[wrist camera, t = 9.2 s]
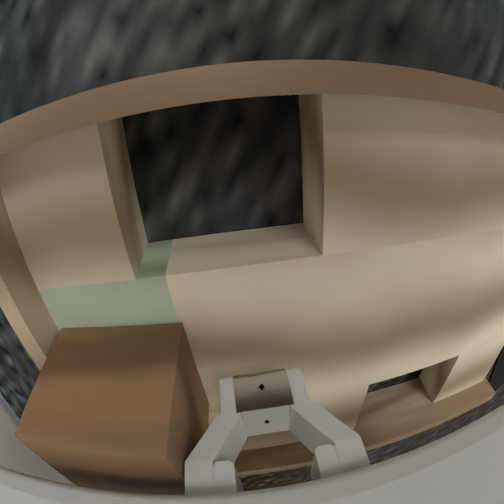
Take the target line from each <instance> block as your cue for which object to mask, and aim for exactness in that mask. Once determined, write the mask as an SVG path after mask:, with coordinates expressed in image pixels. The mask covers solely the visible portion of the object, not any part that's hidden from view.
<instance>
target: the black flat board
mask: <svg viewBox="0 0 504 504" xmlns="http://www.w3.org/2000/svg"><path fill="white" fill-rule="evenodd" d="M488 382H489V384H490V385H491V387H492V388H493V390H494V391H495V390H496V389H498V388H499V387H500V386H502V385H503V384H504V346H503V348H502V349H501V351H500V353H499V355H498V356H497V359H496V362H495V365H494V368H493V371H492V373H491V376H490V379H489V381H488Z"/></svg>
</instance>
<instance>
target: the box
mask: <svg viewBox="0 0 504 504" xmlns="http://www.w3.org/2000/svg"><path fill="white" fill-rule="evenodd" d="M277 95H299V112H300V131H301V154H302V185H303V223H299V224H290V225H282V226H273V227H265V228H257V229H248V230H240V231H232V232H225V233H217V234H209V235H201V236H194V237H186V238H179V239H172V240H164V241H157V242H150V243H148V240H147V236H146V232H145V228H144V224H143V219H142V215H141V211H140V206H139V202H138V198H137V193H136V188H135V184H134V179H133V174H132V169H131V164H130V159H129V153H128V148H127V142H126V137H125V131H124V125H123V118H122V117H125V116H129V115H134V114H139V113H144V112H149V111H154V110H159V109H164V108H170V107H176V106H182V105H189V104H196V103H203V102H210V101H218V100H227V99H237V98H248V97H261V96H277ZM0 307H1V309H2V311H3V312H4V314H5V316H6V318H7V320H8V321H9V323H10V325H11V326H12V328H13V330H14V331H15V333H16V335H17V336H18V338H19V340H20V341H21V343H22V344H23V346H24V348H25V349H26V351H27V352H28V354H29V355H30V357H31V358H32V360H33V361H34V363H35V364H36V365H37V367H38V368H39V370H40V371H41V369H42V367H43V365H44V363H45V361H46V359H47V356H48V354H49V352H50V350H51V348H52V346H53V344H54V342H55V340H56V338H57V336H58V334H59V332H60V330H61V328H83V327H113V326H135V325H152V324H168V323H182V322H183V326H184V329H185V332H186V336H187V339H188V342H189V345H190V348H191V351H192V354H193V358H194V361H195V364H196V367H197V370H198V373H199V376H200V378H201V381H202V384H203V387H204V390H205V393H206V396H207V398H208V401H209V426H210V424H211V423H212V421H213V420H214V418H215V417H216V415H220V399H219V377H226V376H236V375H245V374H254V373H258V372H264V371H270V370H276V369H282V368H284V369H285V368H289V367H295V366H299V367H300V369H301V373H302V376H303V380H304V383H305V386H306V390H307V393H308V397H309V400H310V401H315V402H316V403H317V404H319V405H320V406H321V407H323V408H324V409H325V410H327V411H328V412H329V413H331V414H332V415H333V416H335V417H336V418H337V419H339V420H340V421H341V422H343V423H344V424H345V425H347V426H348V427H349V428H351V429H352V430H353V431H355V432H356V433H358V434H359V435H360V437H361V439H362V442H363V445H364V448H365V451H369V450H372V449H375V448H378V447H381V446H384V445H387V444H390V443H393V442H396V441H399V440H402V439H404V438H407V437H410V436H412V435H415V434H417V433H420V432H422V431H425V430H427V429H430V428H432V427H434V426H437V425H439V424H441V423H444V422H446V421H448V420H450V419H452V418H455V417H457V416H459V415H461V414H463V413H465V412H467V411H469V410H471V409H473V408H475V407H477V406H479V405H480V404H482V403H484V402H486V401H488V400H490V399H491V398H492V397H493V395H494V394H495V391H494V390H493V388H492V387H491V385H490V384H489V382H488V381H487V379H486V378H485V377H486V375H487V373H488V372H489V370H490V368H491V367H492V365H493V363H494V362H495V360H496V358H497V356H498V355H499V353H500V351H501V349H502V348H503V346H504V89H502V88H499V87H495V86H492V85H488V84H485V83H481V82H477V81H474V80H470V79H466V78H461V77H457V76H453V75H448V74H443V73H438V72H433V71H428V70H422V69H416V68H410V67H403V66H395V65H387V64H378V63H368V62H356V61H340V60H264V61H247V62H235V63H224V64H215V65H207V66H199V67H192V68H186V69H179V70H173V71H168V72H162V73H157V74H152V75H147V76H142V77H138V78H133V79H129V80H125V81H121V82H117V83H113V84H109V85H105V86H102V87H98V88H95V89H91V90H88V91H84V92H81V93H78V94H75V95H72V96H69V97H66V98H63V99H60V100H57V101H54V102H51V103H49V104H46V105H43V106H41V107H38V108H35V109H33V110H30V111H28V112H25V113H23V114H21V115H18V116H16V117H14V118H11V119H9V120H7V121H5V122H2V123H0ZM420 369H422V371H421V373H420V376H419V377H418V378H415V379H412V380H409V381H406V382H403V383H400V384H397V385H393V386H390V387H387V388H383V389H380V390H376V391H373V392H369V393H367V390H368V387H369V385H370V384H374V383H377V382H381V381H384V380H388V379H391V378H395V377H398V376H401V375H404V374H407V373H411V372H414V371H417V370H420ZM313 456H314V454H313V453H312V452H311V451H310V450H309V449H308V448H307V447H306V446H305V445H304V444H303V443H302V442H301V441H300V440H299V439H298V438H297V437H295V436H294V435H293V434H292V433H291V432H290V430H286V431H279V432H272V433H265V434H259V435H253V436H247V439H246V441H245V443H244V445H243V447H242V449H241V451H240V453H239V455H238V457H237V459H236V460H235V462H234V465H235V468H236V470H237V473H238V475H239V476H247V475H255V474H263V473H270V472H277V471H283V470H289V469H294V468H300V467H305V466H310V465H312V461H313Z"/></svg>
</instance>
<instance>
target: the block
mask: <svg viewBox="0 0 504 504" xmlns="http://www.w3.org/2000/svg"><path fill="white" fill-rule="evenodd" d="M208 427H209V401H208V398H207V396H206V393H205V390H204V387H203V384H202V381H201V378H200V376H199V373H198V370H197V367H196V364H195V361H194V358H193V354H192V351H191V348H190V345H189V342H188V339H187V336H186V332H185V329H184V326H183V322H182V323H168V324H152V325H135V326H113V327H83V328H61V330H60V332H59V334H58V336H57V338H56V340H55V342H54V344H53V346H52V348H51V350H50V352H49V354H48V356H47V359H46V361H45V363H44V365H43V367H42V369H41V371H40V374H39V376H38V378H37V380H36V383H35V385H34V387H33V390H32V392H31V394H30V397H29V399H28V402H27V404H26V406H25V409H24V412H23V414H22V417H21V419H20V422H19V425H18V427H17V430H16V433H15V436H16V437H17V438H18V439H20V440H21V441H22V442H23V443H24V444H25V445H26V446H27V447H29V448H30V449H31V450H32V451H33V452H34V453H36V454H37V455H38V456H39V457H40V458H42V459H43V460H44V461H46V462H47V463H48V464H49V465H50V466H52V467H53V468H54V469H55V470H57V471H58V472H59V473H61V474H62V475H64V476H65V477H66V478H68V479H69V480H70V481H72V482H73V483H75V484H76V485H78V486H81V487H87V488H94V489H101V490H109V491H118V492H128V493H141V494H163V495H185V461H186V459H187V458H188V457H189V455H190V454H191V452H192V451H193V449H194V448H195V446H196V445H197V444H198V442H199V441H200V439H201V438H202V436H203V435H204V433H205V432H206V430H207V429H208Z"/></svg>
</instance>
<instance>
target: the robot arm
mask: <svg viewBox="0 0 504 504" xmlns="http://www.w3.org/2000/svg"><path fill="white" fill-rule="evenodd" d="M219 399H220V415H216V417H215V418H214V420H213V421H212V423H211V424H210V426H209V427H208V429H207V430H206V432H205V433H204V435H203V436H202V438H201V439H200V441H199V442H198V444H197V445H196V446H195V448H194V449H193V451H192V452H191V454H190V455H189V457H188V458H187V459H186V461H185V495H163V494H141V493H128V492H118V491H109V490H101V489H94V488H87V487H81V486H76V485H70V484H65V483H60V482H56V481H51V480H47V479H42V478H39V477H35V476H31V475H27V474H24V473H20V472H17V471H13V470H11V469H8V468H4V467H1V466H0V504H504V405H502V406H501V407H499V408H497V409H496V410H494V411H492V412H490V413H489V414H487V415H485V416H483V417H482V418H480V419H478V420H476V421H474V422H472V423H471V424H469V425H467V426H465V427H463V428H461V429H459V430H457V431H455V432H453V433H451V434H449V435H447V436H444V437H442V438H440V439H438V440H436V441H433V442H431V443H429V444H427V445H424V446H422V447H419V448H417V449H414V450H412V451H409V452H407V453H404V454H402V455H399V456H396V457H393V458H391V459H388V460H385V461H382V462H379V463H376V464H373V465H370V462H369V459H368V456H367V453H366V451H365V448H364V445H363V442H362V439H361V437H360V435H359V434H358V433H356V432H355V431H353V430H352V429H351V428H349V427H348V426H347V425H345V424H344V423H343V422H341V421H340V420H339V419H337V418H336V417H335V416H333V415H332V414H331V413H329V412H328V411H327V410H325V409H324V408H323V407H321V406H320V405H319V404H317V403H316V402H315V401H310V400H309V397H308V393H307V390H306V386H305V383H304V380H303V376H302V373H301V369H300V367H299V366H295V367H289V368H285V369H284V368H282V369H276V370H270V371H264V372H258V373H254V374H245V375H236V376H226V377H219ZM286 430H290V432H291V433H292V434H293V435H294V436H295V437H297V438H298V439H299V440H300V441H301V442H302V443H303V444H304V445H305V446H306V447H307V448H308V449H309V450H310V451H311V452H312V453H313V454H314V456H313V461H312V466H311V471H310V475H311V480H312V481H308V482H303V483H298V484H293V485H287V486H281V487H275V488H268V489H261V490H253V491H243V485H242V482H241V480H240V477H239V475H238V473H237V470H236V468H235V465H234V462H235V460H236V459H237V457H238V455H239V453H240V451H241V449H242V447H243V445H244V443H245V441H246V439H247V436H253V435H259V434H265V433H272V432H279V431H286Z"/></svg>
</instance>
